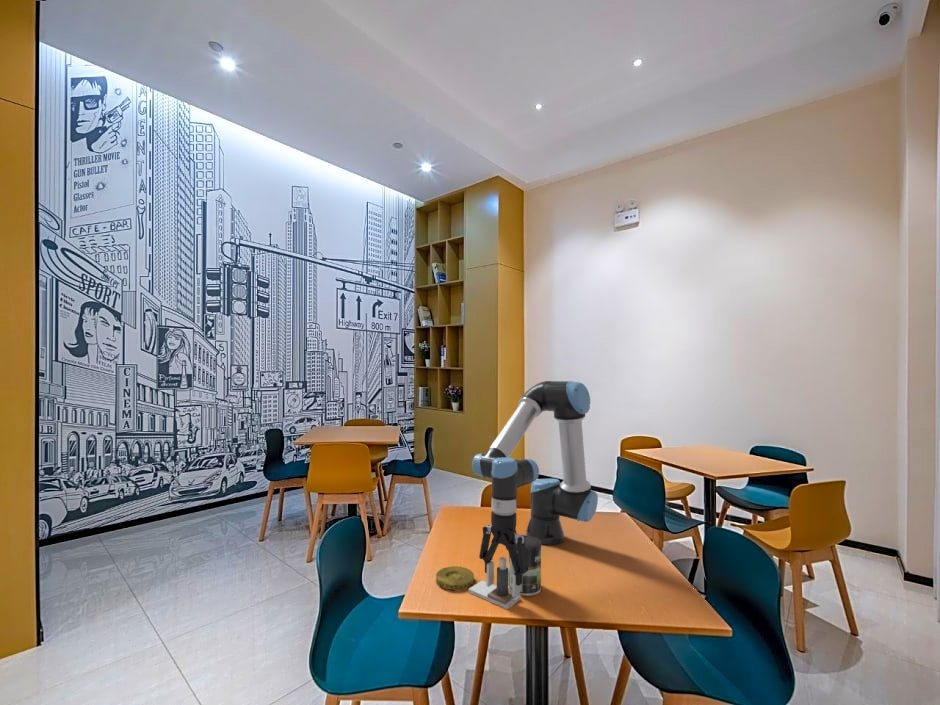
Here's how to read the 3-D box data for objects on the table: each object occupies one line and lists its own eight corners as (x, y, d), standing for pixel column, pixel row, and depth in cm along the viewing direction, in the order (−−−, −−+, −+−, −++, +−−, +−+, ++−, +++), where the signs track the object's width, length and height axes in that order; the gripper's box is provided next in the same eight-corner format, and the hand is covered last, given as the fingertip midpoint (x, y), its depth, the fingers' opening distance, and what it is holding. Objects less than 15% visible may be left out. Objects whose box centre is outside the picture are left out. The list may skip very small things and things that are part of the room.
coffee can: (543, 582, 131) (543, 537, 132) (538, 599, 121) (538, 550, 122) (511, 576, 134) (512, 532, 135) (504, 592, 124) (504, 545, 125)
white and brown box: (482, 583, 130) (482, 577, 130) (520, 599, 121) (520, 592, 121) (468, 592, 124) (468, 586, 124) (507, 609, 115) (507, 602, 115)
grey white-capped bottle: (500, 589, 123) (501, 554, 123) (510, 593, 121) (510, 558, 121) (494, 593, 120) (494, 558, 121) (503, 597, 118) (504, 562, 119)
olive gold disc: (479, 577, 134) (479, 570, 134) (464, 595, 123) (464, 588, 123) (446, 570, 139) (446, 563, 139) (429, 586, 128) (429, 579, 128)
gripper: (468, 507, 126) (466, 583, 124) (528, 523, 113) (527, 608, 111) (482, 501, 131) (481, 574, 130) (541, 516, 118) (540, 597, 117)
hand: (502, 589), depth 121 cm, fingers open, 8 cm apart
